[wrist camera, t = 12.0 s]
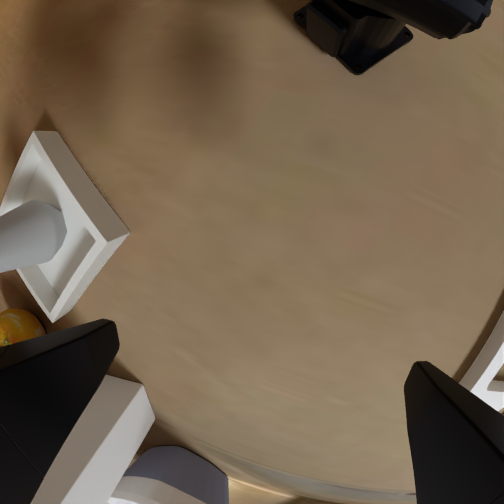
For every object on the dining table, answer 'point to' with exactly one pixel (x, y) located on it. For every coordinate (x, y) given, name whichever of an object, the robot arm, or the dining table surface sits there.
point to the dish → (76, 219)
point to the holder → (488, 369)
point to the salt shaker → (30, 235)
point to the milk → (99, 445)
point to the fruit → (18, 326)
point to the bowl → (171, 479)
